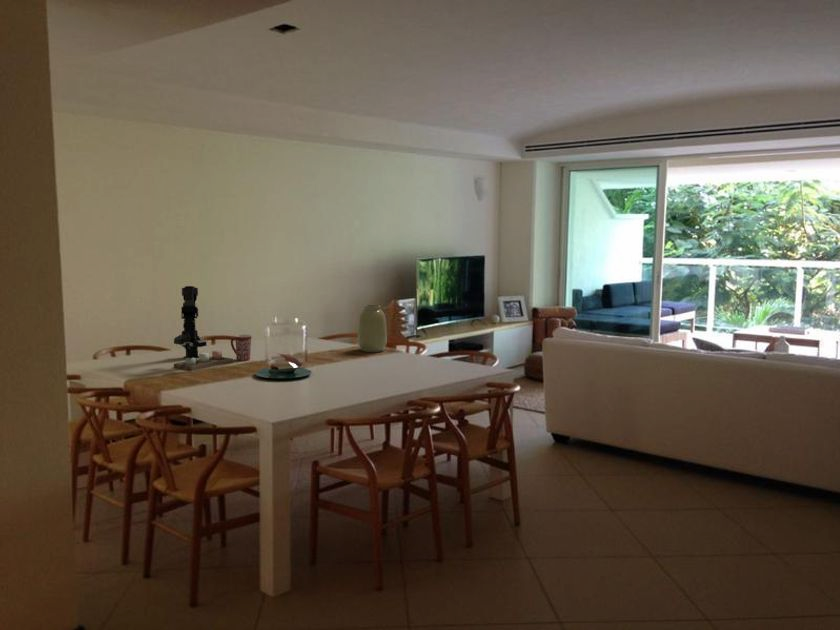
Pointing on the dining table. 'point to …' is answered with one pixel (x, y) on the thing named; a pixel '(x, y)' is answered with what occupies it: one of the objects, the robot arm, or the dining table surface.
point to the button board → (203, 364)
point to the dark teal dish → (284, 370)
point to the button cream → (203, 357)
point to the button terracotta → (216, 355)
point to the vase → (372, 329)
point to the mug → (242, 347)
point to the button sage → (190, 361)
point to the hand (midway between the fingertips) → (190, 358)
